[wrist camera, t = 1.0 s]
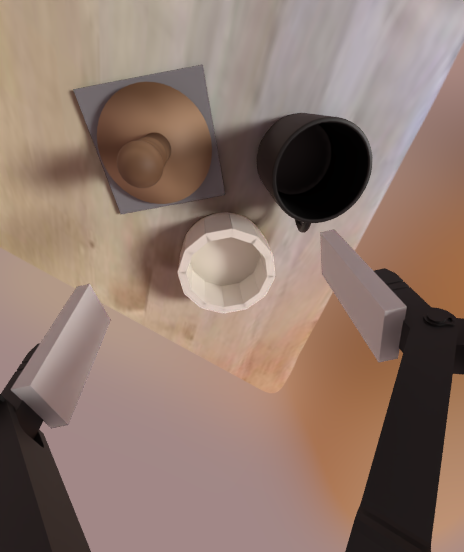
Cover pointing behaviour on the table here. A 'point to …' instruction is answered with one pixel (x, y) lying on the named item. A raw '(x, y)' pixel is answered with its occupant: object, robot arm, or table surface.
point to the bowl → (225, 263)
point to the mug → (314, 166)
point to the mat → (182, 80)
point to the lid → (154, 142)
